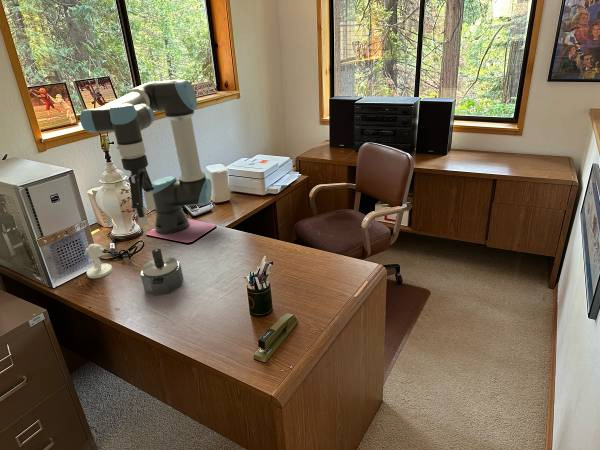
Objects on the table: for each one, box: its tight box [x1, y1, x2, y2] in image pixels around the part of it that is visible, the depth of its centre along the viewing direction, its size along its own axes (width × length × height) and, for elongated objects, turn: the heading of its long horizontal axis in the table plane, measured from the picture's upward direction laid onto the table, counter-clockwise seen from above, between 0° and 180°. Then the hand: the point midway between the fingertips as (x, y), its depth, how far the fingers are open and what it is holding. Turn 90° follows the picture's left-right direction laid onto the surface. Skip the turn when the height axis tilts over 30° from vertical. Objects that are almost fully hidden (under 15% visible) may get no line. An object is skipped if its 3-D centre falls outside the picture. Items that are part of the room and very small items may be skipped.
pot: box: [140, 260, 184, 297], centre depth 153 cm, size 16×13×7 cm
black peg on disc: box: [141, 248, 178, 277], centre depth 150 cm, size 12×12×7 cm
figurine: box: [84, 243, 113, 279], centre depth 164 cm, size 9×9×12 cm
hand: (148, 217), depth 144 cm, fingers open, 13 cm apart
